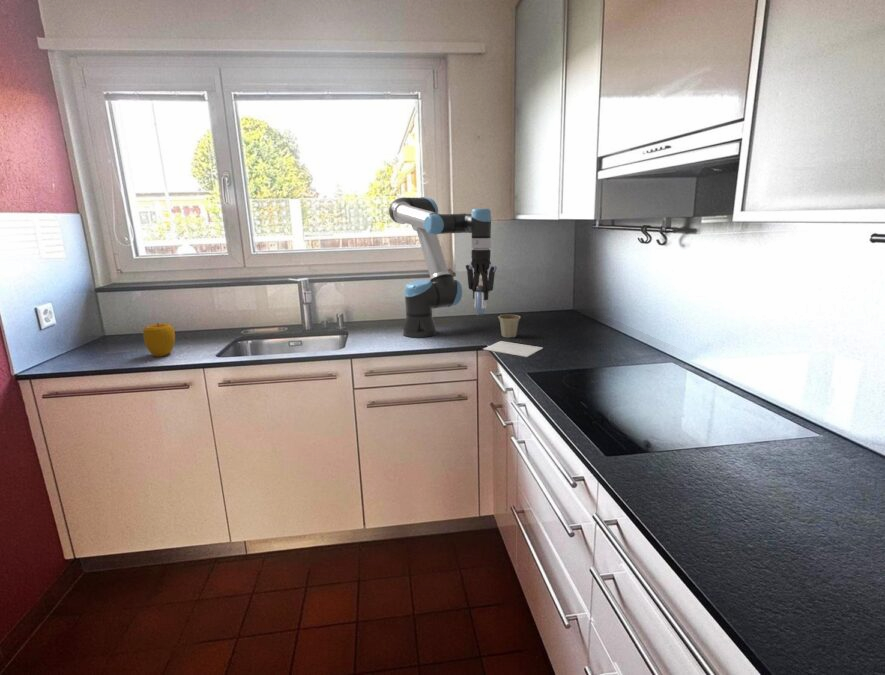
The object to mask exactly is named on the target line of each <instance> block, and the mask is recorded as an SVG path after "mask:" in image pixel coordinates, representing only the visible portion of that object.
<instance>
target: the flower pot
mask: <svg viewBox="0 0 885 675" xmlns="http://www.w3.org/2000/svg"><path fill="white" fill-rule="evenodd" d="M520 319H521V316H520V315H517V314H501V315H498V320H499V323H500V332H501V333H500V334H501V336H502V337H503V338H509V339H510V338H516V337H517V332H518V327H519V321H520Z"/></svg>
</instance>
